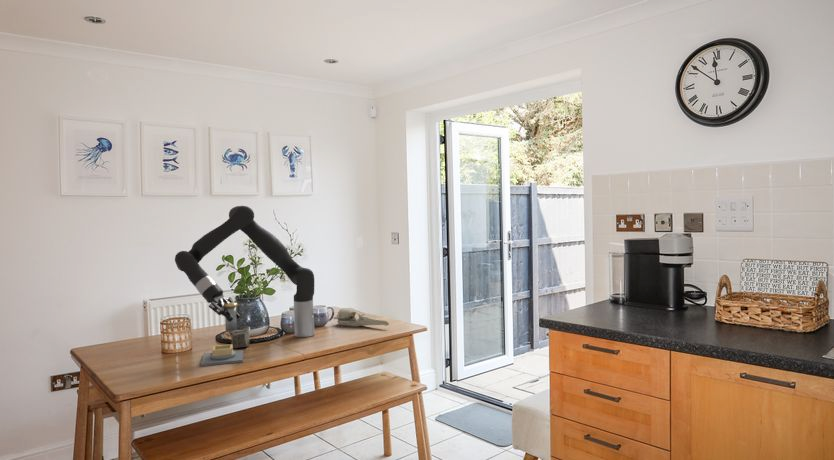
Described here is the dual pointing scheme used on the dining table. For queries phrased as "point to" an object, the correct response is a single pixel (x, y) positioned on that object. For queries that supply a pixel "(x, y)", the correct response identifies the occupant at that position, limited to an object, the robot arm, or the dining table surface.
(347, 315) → the bird skull
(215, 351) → the grey tray with block
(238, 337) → the rock
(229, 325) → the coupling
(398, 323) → the dining table surface
